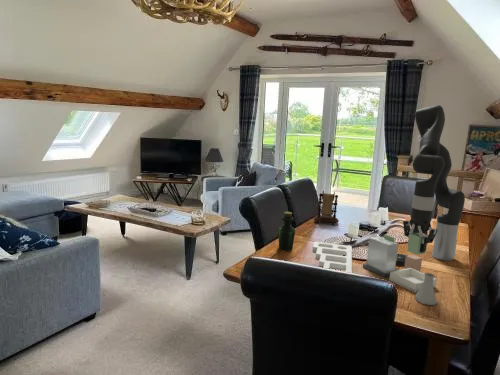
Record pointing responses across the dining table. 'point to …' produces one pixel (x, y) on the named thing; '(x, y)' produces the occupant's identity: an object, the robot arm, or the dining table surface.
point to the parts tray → (409, 279)
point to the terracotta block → (413, 262)
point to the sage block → (414, 244)
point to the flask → (427, 291)
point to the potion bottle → (286, 233)
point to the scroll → (327, 209)
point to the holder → (334, 249)
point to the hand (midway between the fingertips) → (416, 250)
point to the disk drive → (400, 259)
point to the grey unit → (382, 255)
